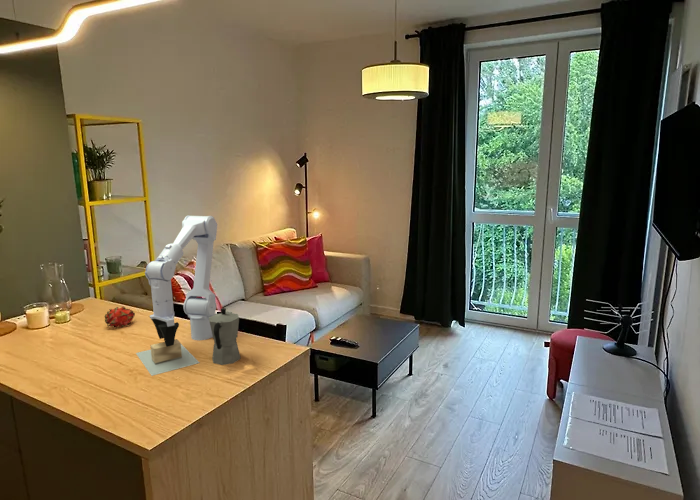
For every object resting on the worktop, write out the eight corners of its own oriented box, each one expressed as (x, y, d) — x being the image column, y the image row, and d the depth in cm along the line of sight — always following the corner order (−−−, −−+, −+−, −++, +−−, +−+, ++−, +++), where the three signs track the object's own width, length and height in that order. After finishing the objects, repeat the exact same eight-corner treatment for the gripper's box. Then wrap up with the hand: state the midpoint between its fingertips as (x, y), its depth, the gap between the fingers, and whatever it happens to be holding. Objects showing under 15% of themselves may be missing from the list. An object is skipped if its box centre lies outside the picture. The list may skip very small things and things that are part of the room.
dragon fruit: (102, 334, 171) (133, 329, 180) (112, 325, 166) (143, 320, 176) (96, 314, 173) (127, 310, 183) (106, 304, 169) (137, 301, 179)
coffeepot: (217, 354, 149) (214, 301, 145) (246, 354, 149) (243, 301, 145) (202, 376, 133) (198, 318, 130) (234, 376, 133) (231, 317, 130)
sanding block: (178, 353, 146) (176, 339, 145) (181, 357, 143) (180, 342, 142) (151, 360, 141) (150, 345, 140) (155, 364, 138) (153, 349, 137)
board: (180, 346, 155) (179, 342, 155) (200, 367, 139) (199, 362, 139) (136, 357, 147) (135, 353, 146) (152, 380, 131) (151, 375, 131)
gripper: (142, 296, 142) (146, 337, 144) (154, 308, 130) (159, 352, 133) (166, 292, 146) (169, 332, 148) (179, 303, 134) (183, 346, 137)
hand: (166, 341), depth 141 cm, fingers open, 7 cm apart
